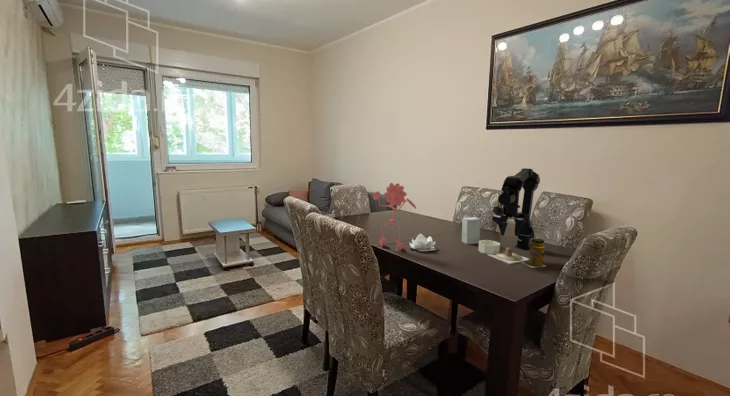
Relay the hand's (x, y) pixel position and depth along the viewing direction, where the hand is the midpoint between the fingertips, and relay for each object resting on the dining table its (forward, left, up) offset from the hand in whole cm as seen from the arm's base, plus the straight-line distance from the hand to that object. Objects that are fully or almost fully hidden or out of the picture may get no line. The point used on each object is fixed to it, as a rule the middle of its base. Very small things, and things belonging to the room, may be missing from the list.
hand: (509, 234), depth 163 cm
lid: (0, 0, -11) cm, 11 cm away
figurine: (+44, -35, -12) cm, 58 cm away
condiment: (-3, +12, -12) cm, 17 cm away
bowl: (+2, -11, -12) cm, 16 cm away
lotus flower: (+32, -27, -12) cm, 44 cm away
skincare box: (0, -27, -12) cm, 29 cm away
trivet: (0, 0, -12) cm, 12 cm away
